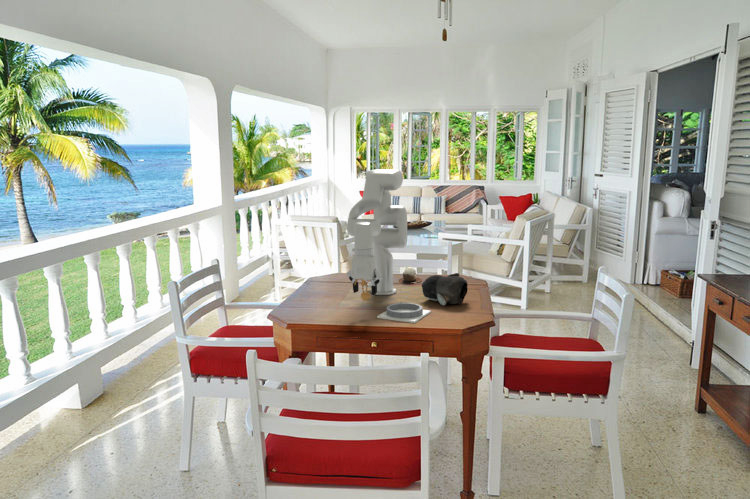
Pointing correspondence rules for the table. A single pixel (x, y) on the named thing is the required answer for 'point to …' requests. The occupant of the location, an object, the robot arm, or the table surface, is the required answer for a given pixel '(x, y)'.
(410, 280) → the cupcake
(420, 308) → the ring stand
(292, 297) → the table surface
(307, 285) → the table surface
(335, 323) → the table surface
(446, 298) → the dark grey rounded piece
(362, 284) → the figurine
